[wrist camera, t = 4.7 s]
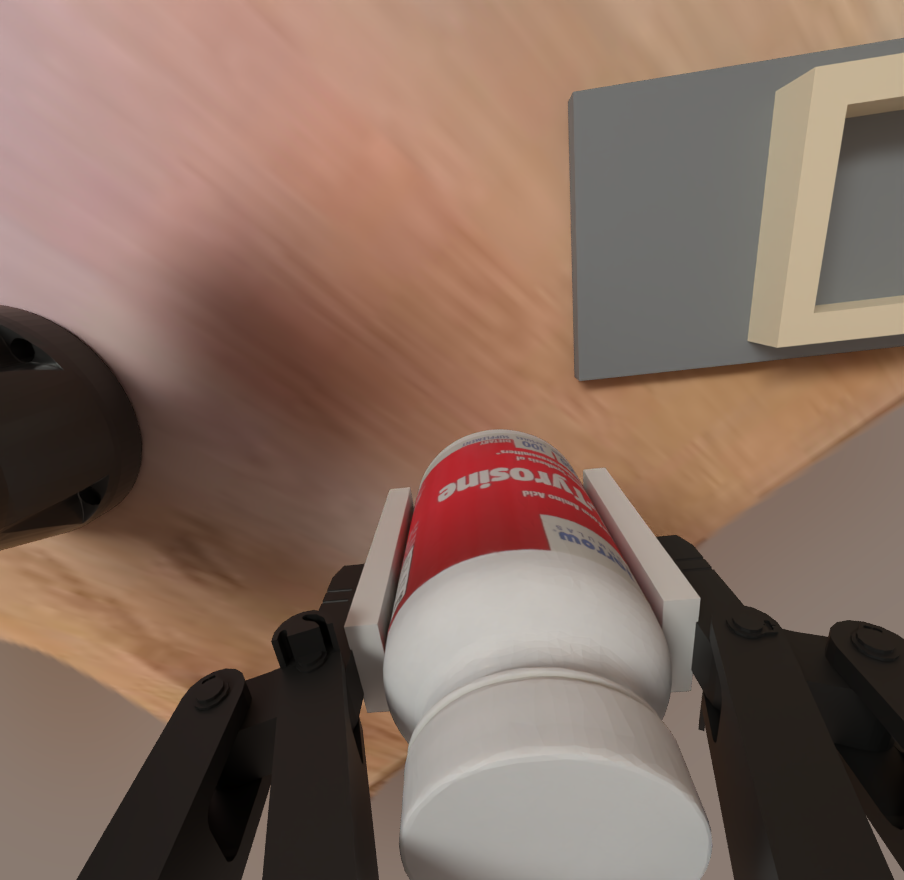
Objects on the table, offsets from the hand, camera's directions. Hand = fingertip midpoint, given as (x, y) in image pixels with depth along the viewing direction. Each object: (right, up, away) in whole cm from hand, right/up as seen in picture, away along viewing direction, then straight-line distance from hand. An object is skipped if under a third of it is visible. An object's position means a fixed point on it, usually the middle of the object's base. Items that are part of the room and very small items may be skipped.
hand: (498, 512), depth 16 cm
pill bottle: (0, 0, +1) cm, 1 cm away
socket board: (+15, +14, +7) cm, 22 cm away
